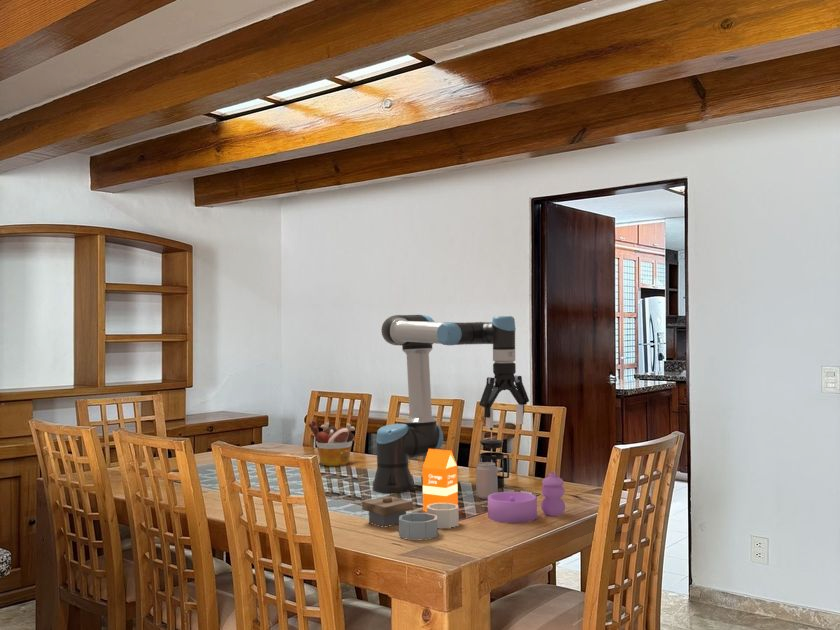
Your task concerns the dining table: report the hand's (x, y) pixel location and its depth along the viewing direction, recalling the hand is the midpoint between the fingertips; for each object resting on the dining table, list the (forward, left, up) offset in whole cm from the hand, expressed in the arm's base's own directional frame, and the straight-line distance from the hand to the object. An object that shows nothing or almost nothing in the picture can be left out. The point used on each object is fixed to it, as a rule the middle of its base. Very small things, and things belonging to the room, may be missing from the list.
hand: (505, 425), depth 259 cm
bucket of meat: (-106, +8, -27) cm, 109 cm away
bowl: (+2, -32, -27) cm, 42 cm away
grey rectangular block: (-12, -42, -27) cm, 51 cm away
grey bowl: (+5, -45, -27) cm, 53 cm away
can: (-13, +5, -27) cm, 30 cm away
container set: (+14, -6, -27) cm, 31 cm away
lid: (-12, -42, -23) cm, 49 cm away
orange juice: (-11, -20, -27) cm, 35 cm away
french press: (-24, +21, -27) cm, 41 cm away
